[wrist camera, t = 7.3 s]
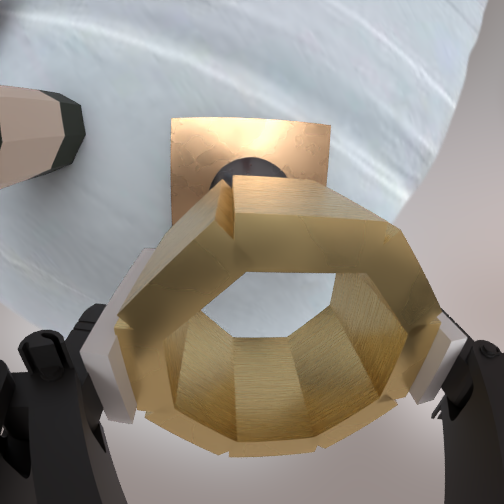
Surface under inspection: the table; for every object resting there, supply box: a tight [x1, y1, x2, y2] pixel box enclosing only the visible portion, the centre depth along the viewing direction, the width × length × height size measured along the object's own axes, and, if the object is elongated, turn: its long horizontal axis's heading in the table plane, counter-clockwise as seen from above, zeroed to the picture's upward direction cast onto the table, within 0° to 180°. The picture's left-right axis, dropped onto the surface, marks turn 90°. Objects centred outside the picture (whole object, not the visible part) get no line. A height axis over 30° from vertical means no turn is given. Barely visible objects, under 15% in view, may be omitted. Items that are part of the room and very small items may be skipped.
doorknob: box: [171, 117, 331, 226], centre depth 22 cm, size 14×14×10 cm
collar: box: [114, 175, 442, 457], centre depth 10 cm, size 9×9×6 cm
